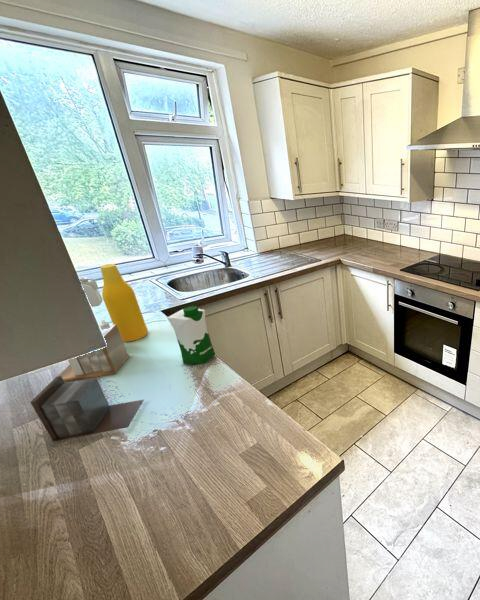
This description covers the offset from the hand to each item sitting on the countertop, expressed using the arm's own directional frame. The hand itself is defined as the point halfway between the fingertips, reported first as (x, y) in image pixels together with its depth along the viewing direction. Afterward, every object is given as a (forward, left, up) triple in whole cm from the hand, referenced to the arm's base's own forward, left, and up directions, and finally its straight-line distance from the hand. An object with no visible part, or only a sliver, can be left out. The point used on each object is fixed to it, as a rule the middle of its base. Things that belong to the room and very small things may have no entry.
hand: (66, 324), depth 101 cm
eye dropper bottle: (+3, +12, -17) cm, 21 cm away
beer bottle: (+6, +21, -17) cm, 28 cm away
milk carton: (+34, -4, -17) cm, 38 cm away
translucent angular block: (+2, 0, -17) cm, 17 cm away
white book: (0, 0, -16) cm, 16 cm away
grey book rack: (+16, -29, -17) cm, 37 cm away
